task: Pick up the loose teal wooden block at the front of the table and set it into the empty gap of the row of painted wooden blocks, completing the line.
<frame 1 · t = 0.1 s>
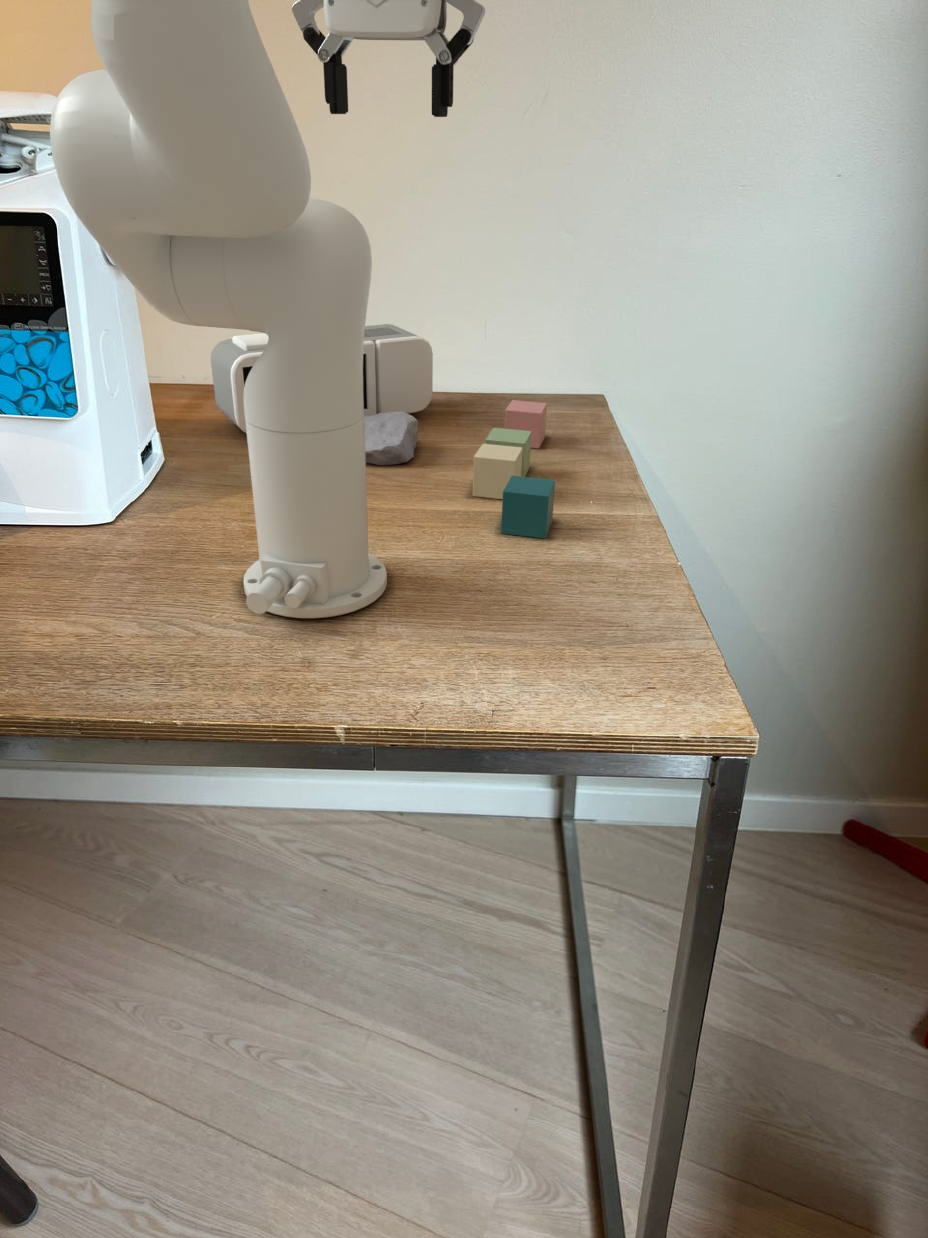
hand: (388, 114, 83), 37 cm above the table, tool pointing down, fingers open, 9 cm apart
teal block: (527, 527, 93), on the table
sage block: (507, 472, 107), on the table
rose block: (524, 441, 117), on the table
cream block: (496, 491, 101), on the table
stone block: (367, 454, 112), on the table
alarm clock: (327, 423, 122), on the table
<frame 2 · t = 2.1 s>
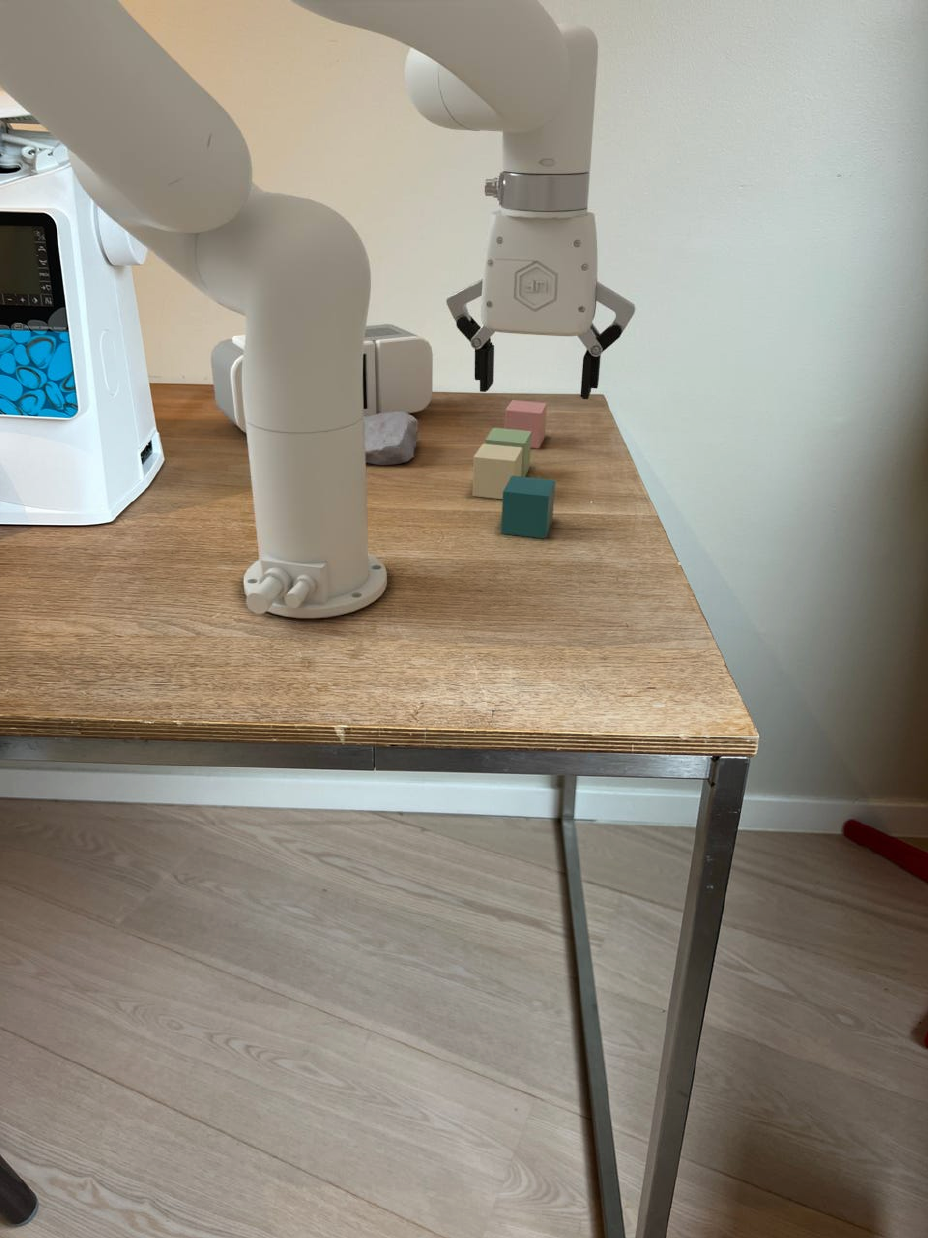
hand: (535, 391, 86), 14 cm above the table, tool pointing down, fingers open, 9 cm apart
nothing on the table moved.
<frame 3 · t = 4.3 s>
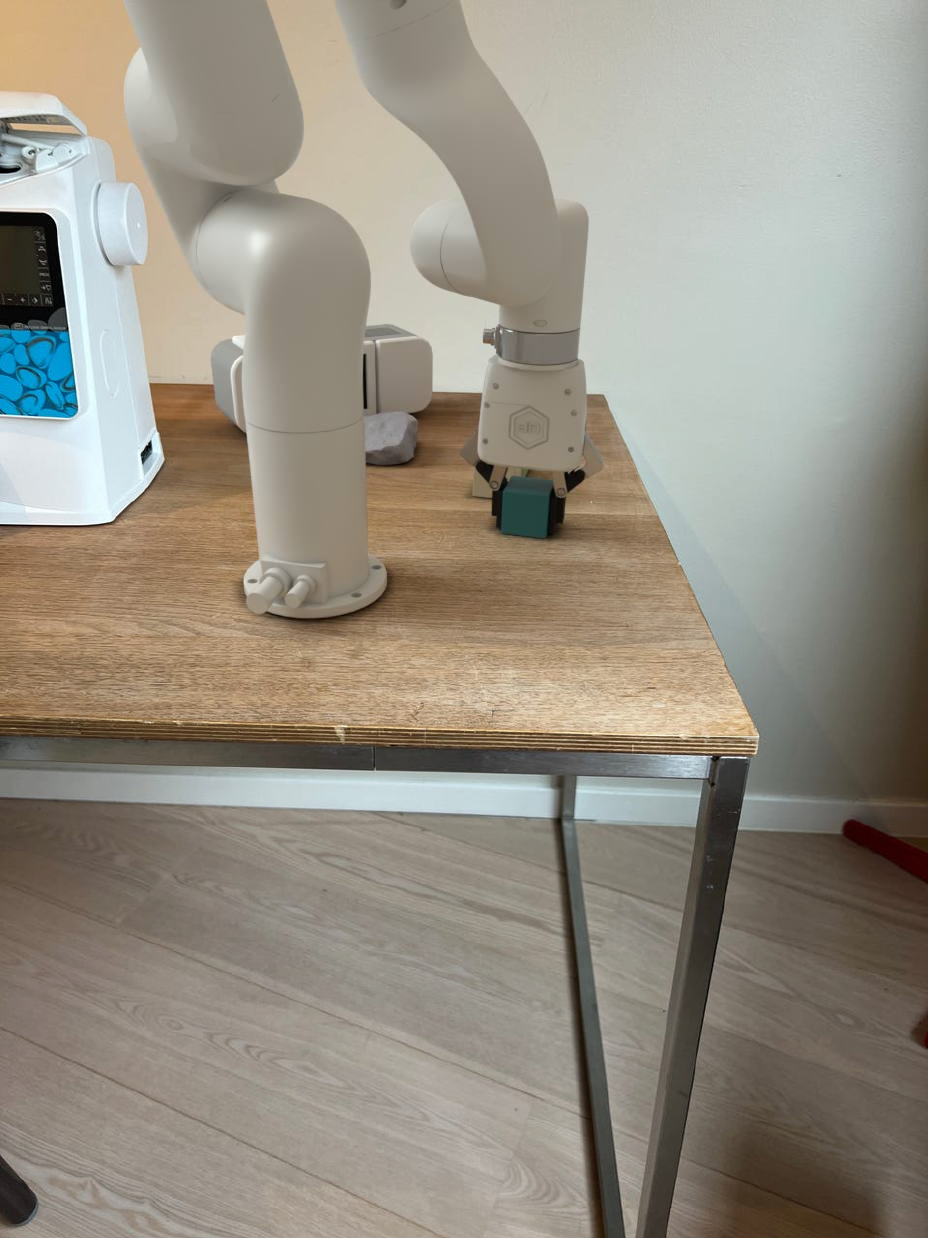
hand: (527, 524, 93), 0 cm above the table, tool pointing down, fingers closed on teal block, 4 cm apart
teal block: (527, 527, 93), on the table, touching gripper
everything else where it was.
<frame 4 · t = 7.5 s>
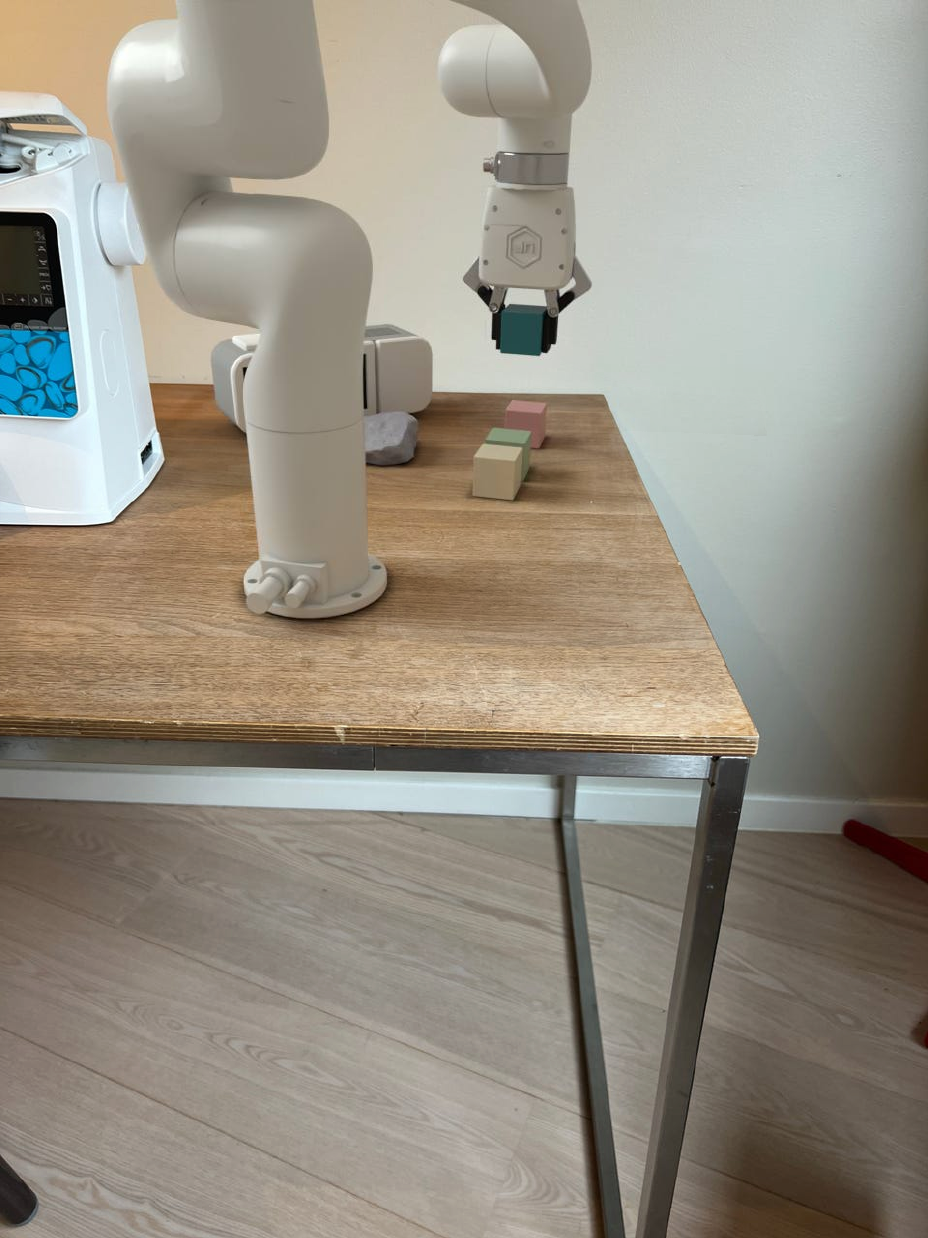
hand: (523, 346, 104), 14 cm above the table, tool pointing down, fingers closed on teal block, 4 cm apart
teal block: (523, 350, 104), point 13 cm above the table, touching gripper
everything else where it was.
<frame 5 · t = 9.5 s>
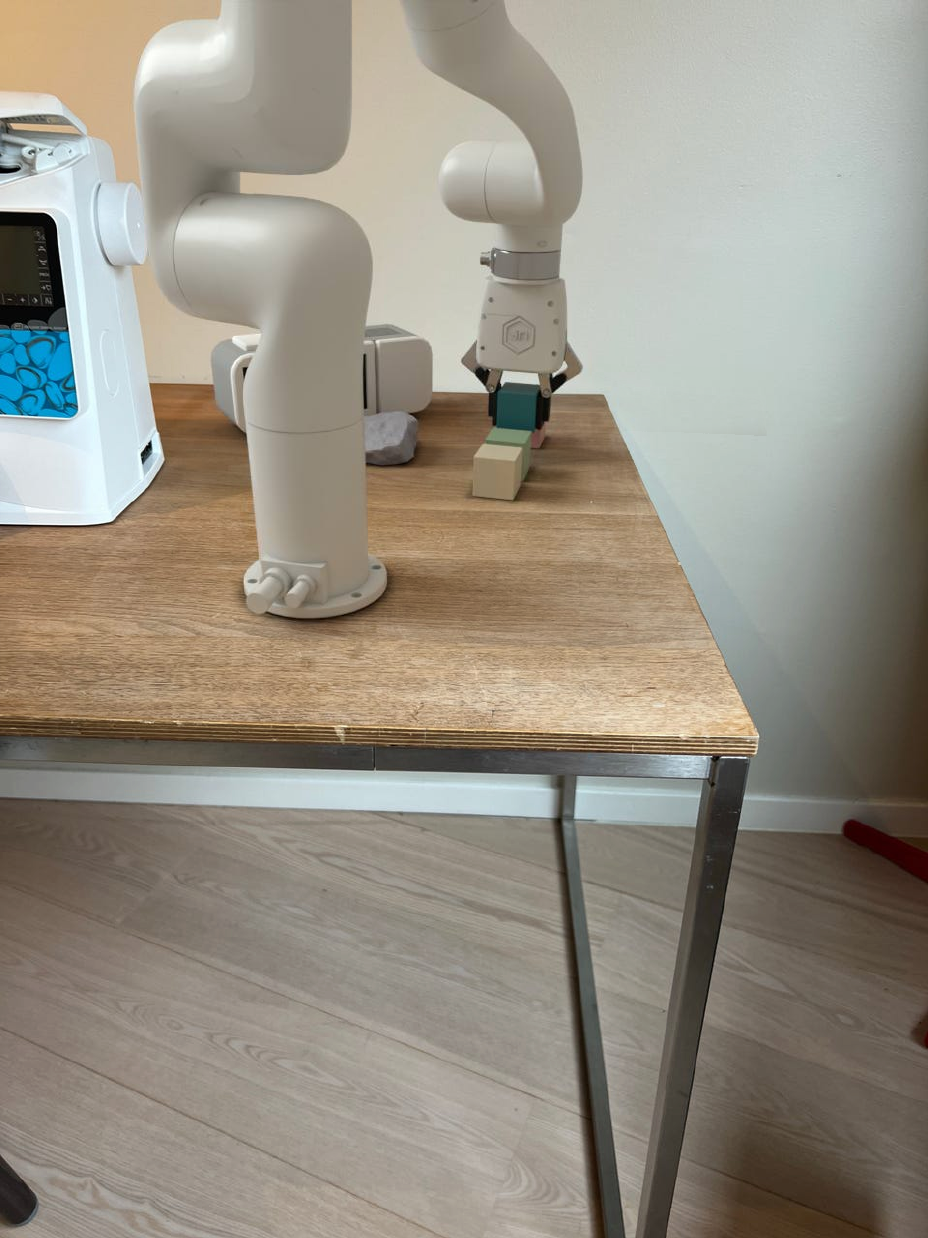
hand: (518, 422, 110), 4 cm above the table, tool pointing down, fingers closed on teal block, 4 cm apart
teal block: (518, 425, 110), point 4 cm above the table, touching gripper
everything else where it was.
when the fingers open (0 cm above the table, at t = 10.9 s): teal block stays where it is, on the table.
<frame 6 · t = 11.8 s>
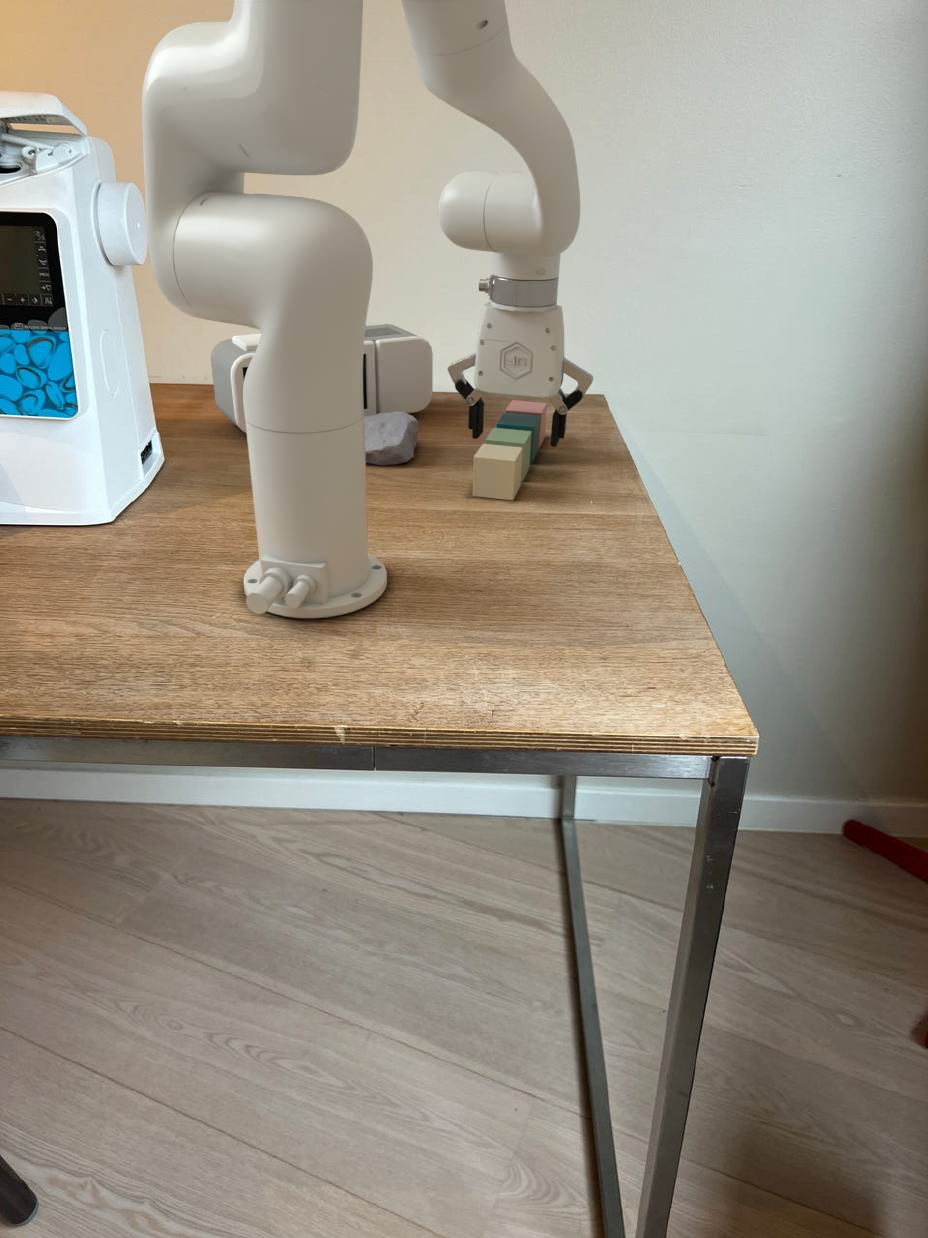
hand: (516, 439, 110), 2 cm above the table, tool pointing down, fingers open, 9 cm apart
teal block: (516, 455, 112), on the table
everything else where it was.
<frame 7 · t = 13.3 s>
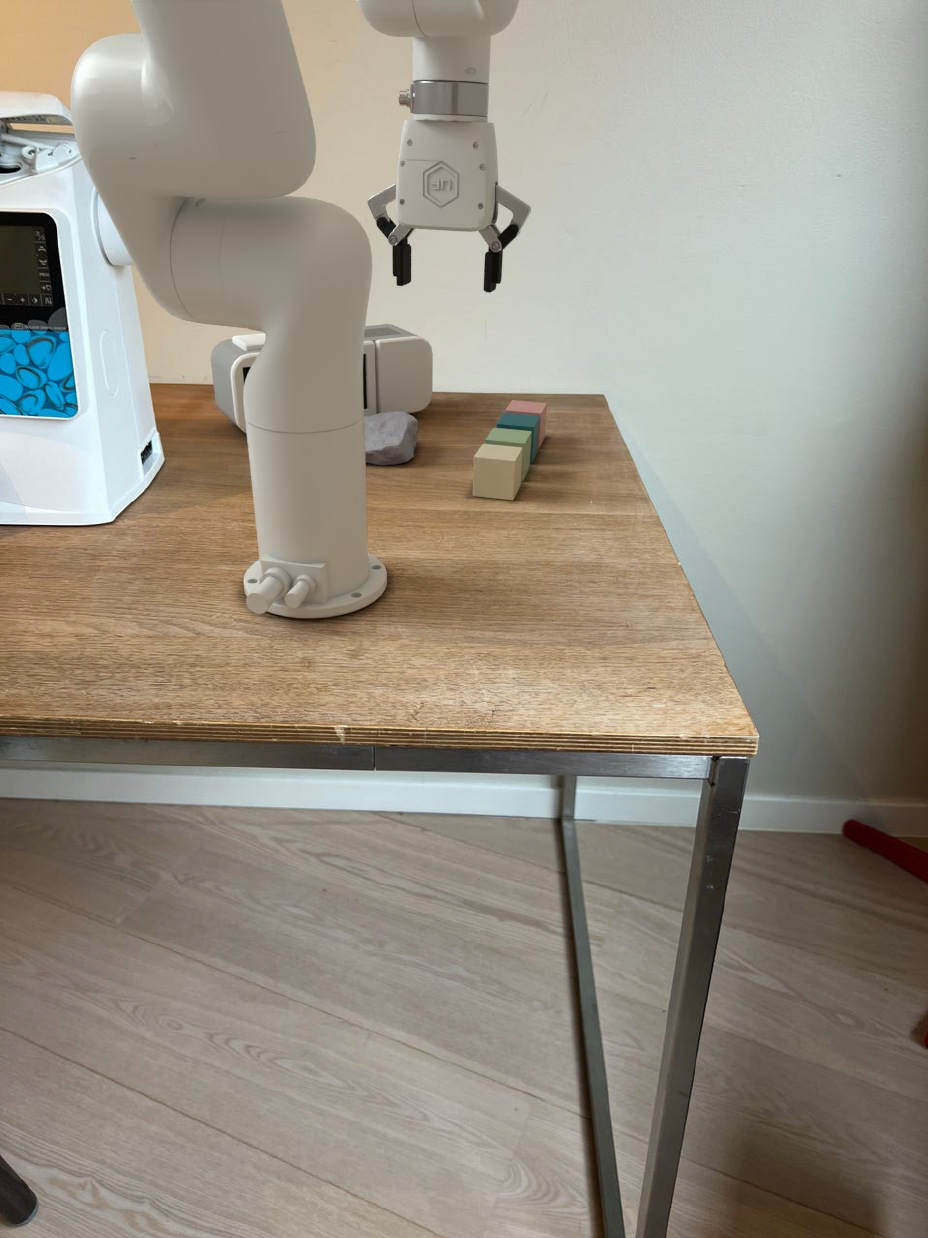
hand: (446, 287, 97), 21 cm above the table, tool pointing down, fingers open, 9 cm apart
nothing on the table moved.
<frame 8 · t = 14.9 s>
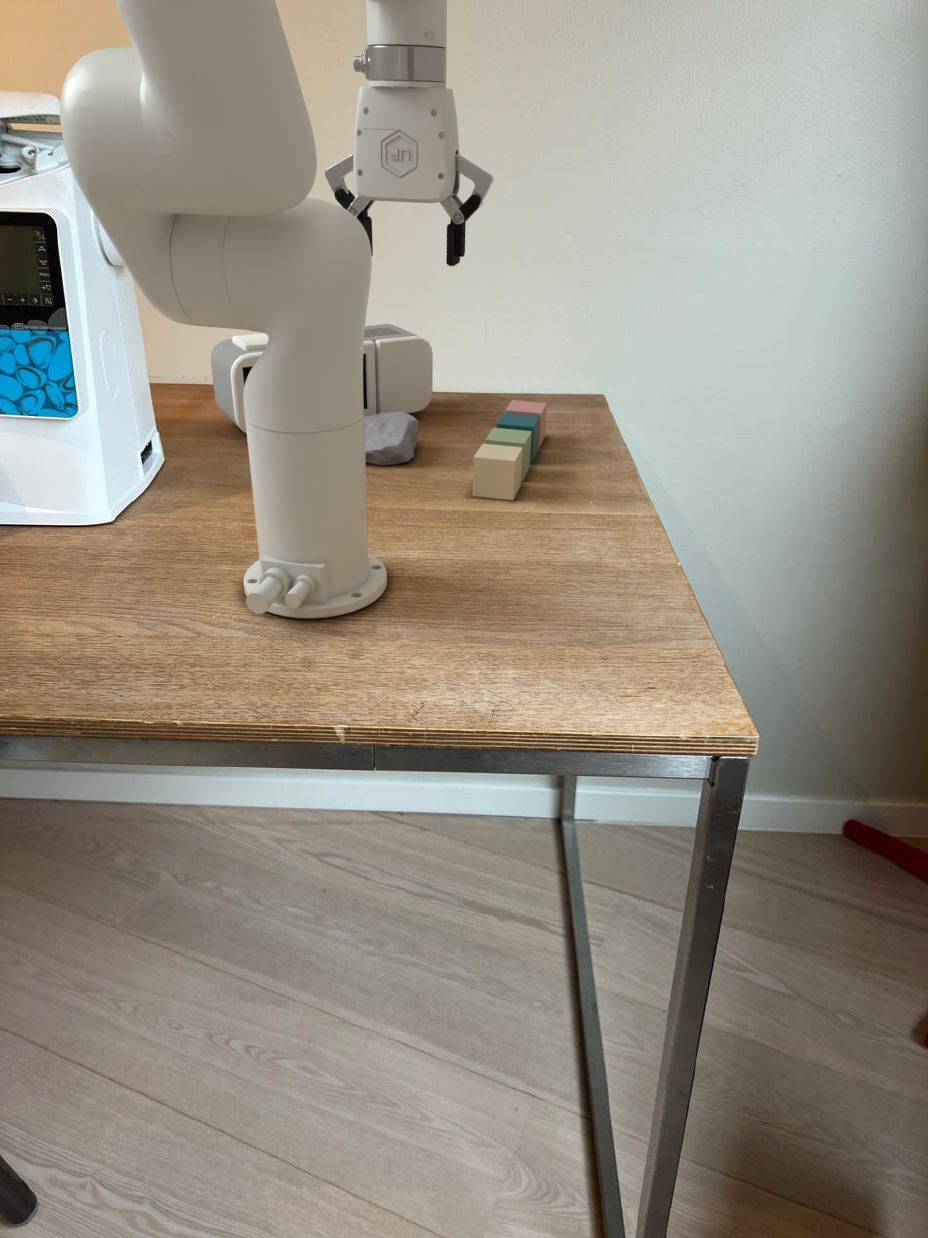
hand: (408, 261, 95), 23 cm above the table, tool pointing down, fingers open, 9 cm apart
nothing on the table moved.
at the end: teal block 0.2 cm from the target spot on the table beside the rose block, on the table; teal block tilted 0°; sage block moved 0.0 cm from its start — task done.
